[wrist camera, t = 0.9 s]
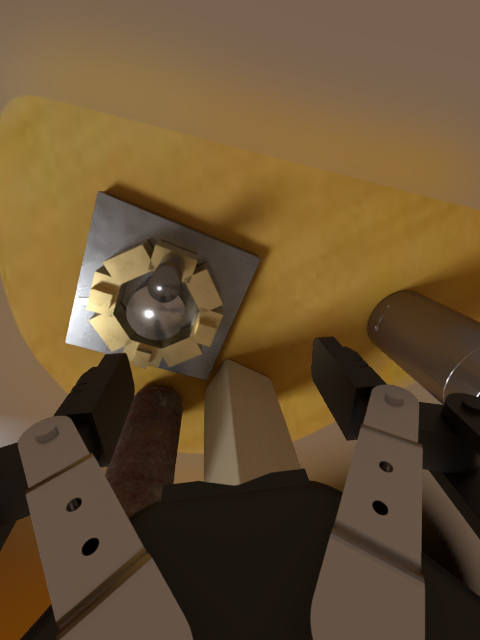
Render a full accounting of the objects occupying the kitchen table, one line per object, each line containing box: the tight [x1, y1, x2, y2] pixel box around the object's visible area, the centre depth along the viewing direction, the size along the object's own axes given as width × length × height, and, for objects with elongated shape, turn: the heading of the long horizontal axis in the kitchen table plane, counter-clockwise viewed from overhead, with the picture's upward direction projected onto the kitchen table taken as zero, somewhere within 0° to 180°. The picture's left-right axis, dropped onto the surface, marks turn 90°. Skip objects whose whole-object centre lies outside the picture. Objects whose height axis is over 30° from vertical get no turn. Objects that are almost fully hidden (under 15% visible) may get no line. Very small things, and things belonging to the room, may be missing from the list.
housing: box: [65, 191, 261, 381], centre depth 32 cm, size 18×18×6 cm
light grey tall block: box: [204, 359, 301, 485], centre depth 33 cm, size 8×7×21 cm
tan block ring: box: [86, 240, 223, 369], centre depth 28 cm, size 14×14×10 cm
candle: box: [105, 387, 183, 518], centre depth 32 cm, size 8×7×20 cm
